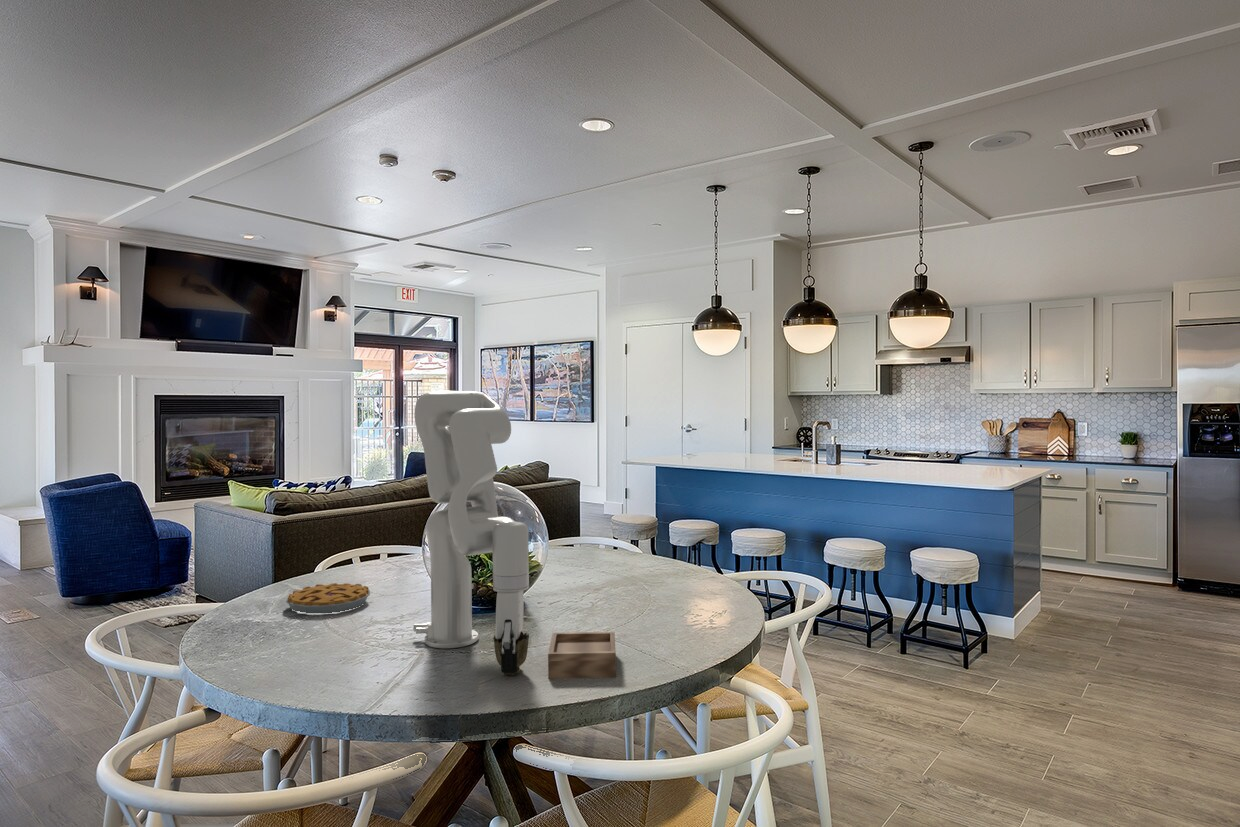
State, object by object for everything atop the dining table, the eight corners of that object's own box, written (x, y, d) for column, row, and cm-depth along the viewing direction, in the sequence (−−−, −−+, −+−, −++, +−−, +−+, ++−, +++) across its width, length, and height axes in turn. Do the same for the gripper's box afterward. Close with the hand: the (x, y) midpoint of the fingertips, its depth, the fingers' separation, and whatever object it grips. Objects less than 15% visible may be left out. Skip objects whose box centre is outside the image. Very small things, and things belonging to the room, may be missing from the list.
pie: (268, 615, 200) (268, 596, 199) (319, 594, 221) (319, 578, 221) (339, 620, 194) (339, 601, 194) (385, 599, 216) (384, 582, 216)
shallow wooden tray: (548, 680, 152) (548, 653, 152) (552, 656, 166) (552, 632, 166) (615, 679, 152) (615, 652, 152) (614, 656, 166) (614, 631, 166)
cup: (495, 681, 150) (495, 642, 150) (491, 669, 158) (491, 631, 157) (531, 677, 152) (531, 639, 152) (526, 665, 160) (526, 629, 159)
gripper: (498, 572, 163) (499, 652, 163) (486, 592, 146) (487, 681, 146) (532, 571, 163) (533, 651, 164) (524, 591, 146) (525, 681, 146)
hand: (511, 665), depth 155 cm, fingers closed on cup, 6 cm apart
